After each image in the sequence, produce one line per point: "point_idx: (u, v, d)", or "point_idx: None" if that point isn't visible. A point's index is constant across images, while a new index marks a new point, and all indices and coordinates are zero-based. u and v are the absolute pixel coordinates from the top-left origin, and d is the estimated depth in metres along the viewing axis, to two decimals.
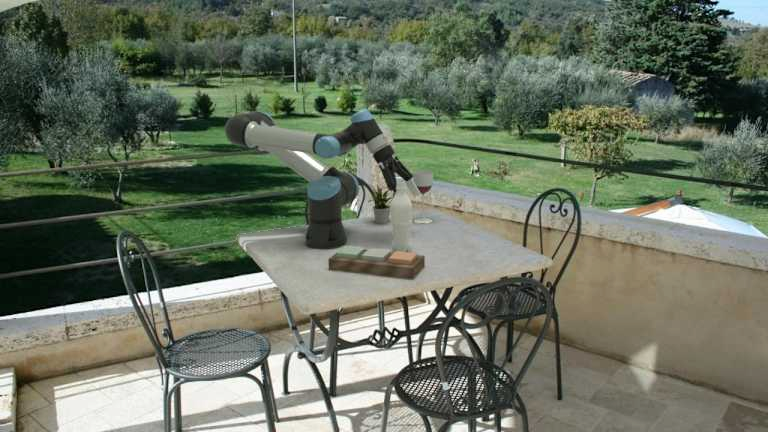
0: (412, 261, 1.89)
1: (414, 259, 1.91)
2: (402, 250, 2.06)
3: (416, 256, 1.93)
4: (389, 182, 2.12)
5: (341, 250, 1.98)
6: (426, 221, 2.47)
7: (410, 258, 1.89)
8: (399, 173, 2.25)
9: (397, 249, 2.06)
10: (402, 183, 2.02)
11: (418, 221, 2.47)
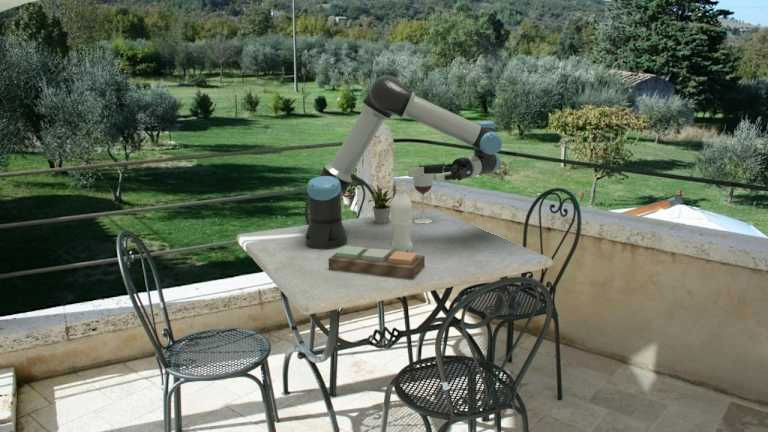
0: (412, 261, 1.89)
1: (414, 259, 1.91)
2: (402, 250, 2.06)
3: (416, 256, 1.93)
4: (462, 176, 2.08)
5: (341, 250, 1.98)
6: (426, 221, 2.47)
7: (410, 258, 1.89)
8: (436, 168, 2.18)
9: (397, 249, 2.06)
10: (402, 183, 2.02)
11: (418, 221, 2.47)
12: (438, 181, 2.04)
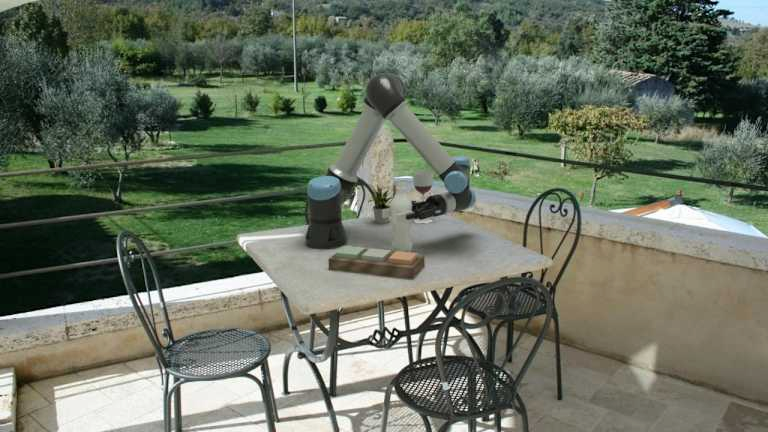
0: (412, 261, 1.89)
1: (414, 259, 1.91)
2: (402, 250, 2.06)
3: (416, 256, 1.93)
4: (424, 215, 2.03)
5: (341, 250, 1.98)
6: (426, 221, 2.47)
7: (410, 258, 1.89)
8: None
9: (397, 249, 2.06)
10: (402, 183, 2.02)
11: (418, 221, 2.47)
12: (399, 221, 2.00)
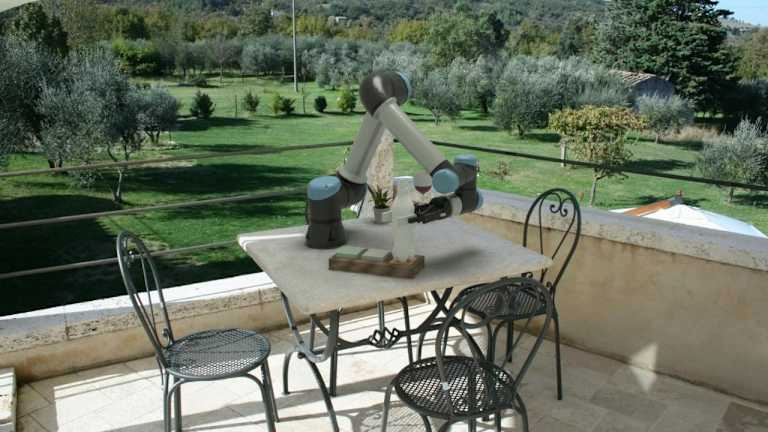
0: None
1: None
2: (404, 257, 1.88)
3: None
4: (428, 219, 1.86)
5: (341, 250, 1.98)
6: None
7: (410, 263, 1.90)
8: None
9: (398, 256, 1.89)
10: (404, 184, 1.85)
11: None
12: (400, 225, 1.83)
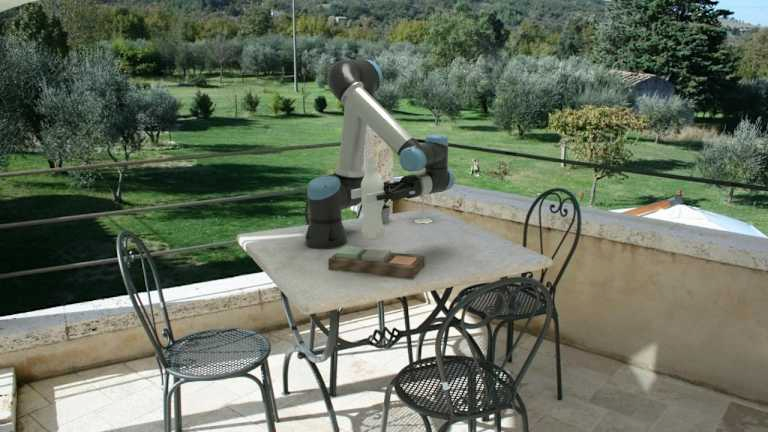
0: None
1: None
2: (373, 234, 1.90)
3: None
4: (397, 196, 1.87)
5: (341, 250, 1.98)
6: (426, 221, 2.47)
7: (410, 263, 1.90)
8: None
9: (367, 232, 1.90)
10: (373, 161, 1.86)
11: (418, 221, 2.47)
12: (369, 201, 1.84)
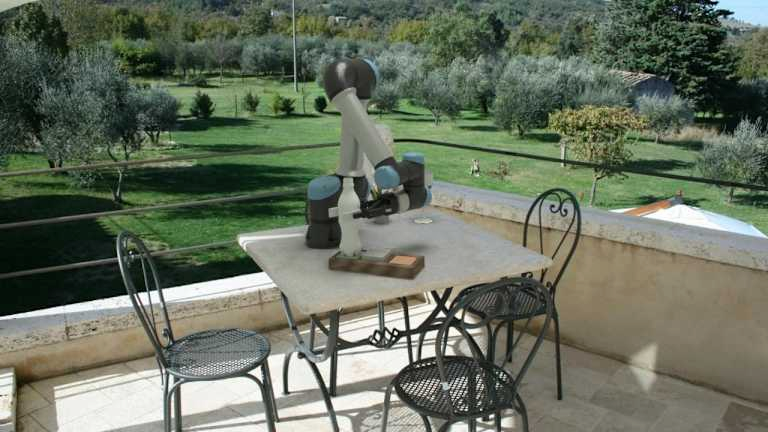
0: None
1: None
2: (350, 251, 1.95)
3: None
4: (373, 214, 1.92)
5: (341, 254, 1.98)
6: (426, 221, 2.47)
7: (410, 263, 1.90)
8: (360, 206, 2.01)
9: (345, 250, 1.95)
10: (349, 180, 1.91)
11: (418, 221, 2.47)
12: (345, 220, 1.89)
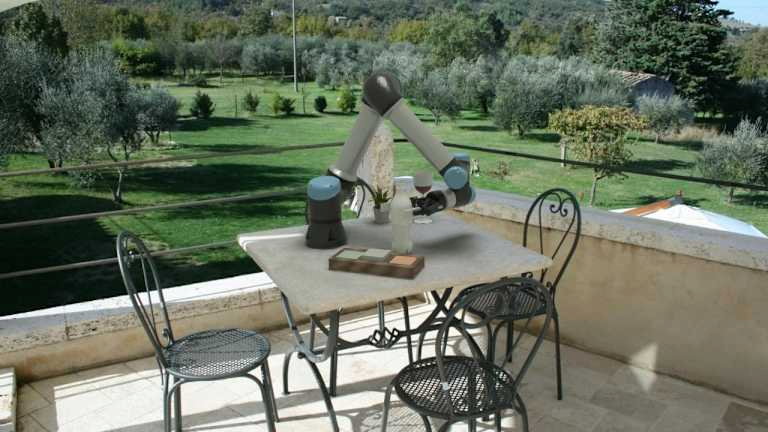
0: None
1: None
2: (402, 250, 2.06)
3: None
4: (431, 211, 2.02)
5: (341, 254, 1.98)
6: (426, 221, 2.47)
7: (410, 263, 1.90)
8: None
9: (397, 249, 2.06)
10: (402, 183, 2.02)
11: (418, 221, 2.47)
12: (406, 217, 1.99)
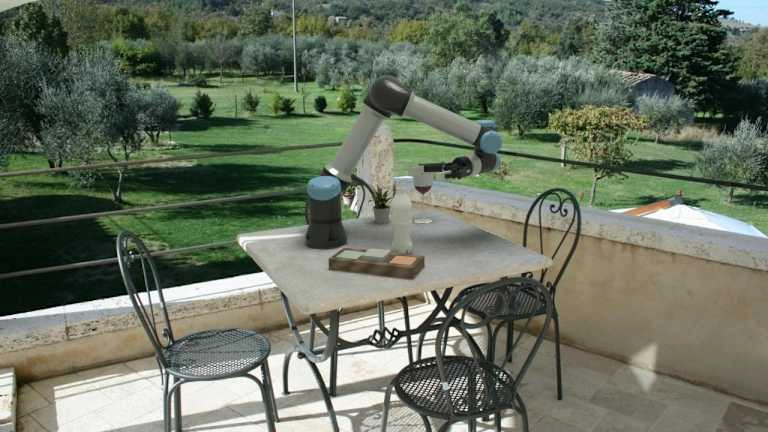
0: None
1: None
2: (402, 250, 2.06)
3: None
4: (461, 175, 2.08)
5: (341, 254, 1.98)
6: (426, 221, 2.47)
7: (410, 263, 1.90)
8: (436, 167, 2.18)
9: (397, 249, 2.06)
10: (402, 183, 2.02)
11: (418, 221, 2.47)
12: (438, 180, 2.04)
